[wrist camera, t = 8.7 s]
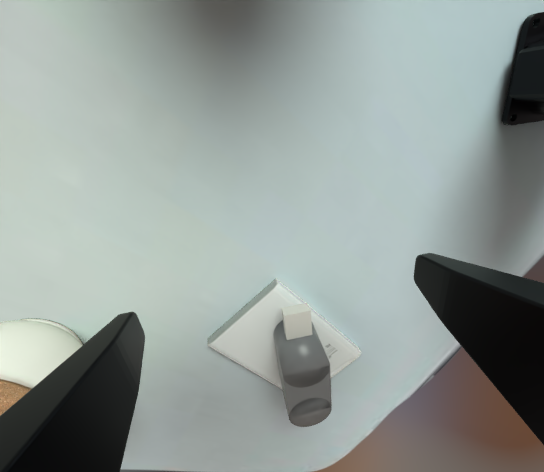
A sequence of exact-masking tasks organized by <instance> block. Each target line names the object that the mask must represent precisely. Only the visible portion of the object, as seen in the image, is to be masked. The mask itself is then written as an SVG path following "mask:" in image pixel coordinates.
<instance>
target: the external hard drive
mask: <svg viewBox="0 0 544 472" xmlns="http://www.w3.org/2000/svg"><path fill="white" fill-rule="evenodd" d="M303 303H305V302H304V301H303V300H302V299H301V298H299V297H298V296H297V295H296V294H295V293H293V292H292V291H291V290H290V289H289V288H287V287H286V286H285V285H284V284H282V283H281V282H280V281H279V280H278V279H277V278H276V279H274V280H273V281H272V282H271V283H270V284H269V285H268V286H267V287H265V288H264V289H263V290H262V291H261V292H260V293H259V294H258V295H256V296H255V297H254V298H253V299H252V300H251V301H250V302H248V303H247V304H246V305H245V306H244V307H243V308H242V309H241V310H239V311H238V312H237V313H236V314H235V315H234V316H233V317H232V318H230V319H229V320H228V321H227V322H226V323H225V324H224V325H222V326H221V327H220V328H219V329H218V330H217V331H216V332H214V333H213V334H212V335H211V336H210V337H209V338H208V346H209V347H211V348H213V349H214V350H216V351H218V352H219V353H221V354H223V355H225V356H226V357H228V358H230V359H231V360H233V361H235V362H236V363H238V364H240V365H242V366H243V367H245V368H247V369H248V370H250V371H252V372H253V373H255V374H257V375H259V376H260V377H262V378H264V379H265V380H267V381H269V382H270V383H272V384H274V385H275V386H277V387H279V388H281V389H282V385H281V380H280V376H279V369H278V362H277V356H276V349H275V342H274V335H273V334H274V330H275V327H276V326H277V325H278V323H279V322H281V321H282V320H283V316H282V308H284V307H289V306H293V305H298V304H303ZM309 308H310V310H311V321H312V323H313V325H314V327H315V330H316V332H317V334H318V337H319V339H320V341H321V343H322V346H323V348H324V350H325V353H326V355H327V357H328V360H329V362H330V378H332V377H333V376H335V375H336V374H337V373H339V372H340V371H341V370H343V369H344V368H345V367H346V366H348V365H349V364H350V363H352V362H353V361H354V360H356V359H357V358H358V357H359V356H360V355H361V351H360V349H359V347H358V346H356V345H355V344H354V343H353V342H352V341H351V340H349V339H348V338H347V337H346V336H345V335H343V334H342V333H341V332H340V331H339V330H338V329H336V328H335V327H334V326H333V325H332V324H330V323H329V322H328V321H327V320H326V319H325V318H323V317H322V316H321V315H320V314H318V313H317V312H316V311H315V310H314V309H312V308H311V307H310V306H309ZM282 390H283V389H282Z"/></svg>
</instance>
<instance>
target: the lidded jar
mask: <svg viewBox="0 0 544 472" xmlns="http://www.w3.org/2000/svg"><path fill="white" fill-rule="evenodd" d="M82 346H83V344H82V342H81V340H80V339H79V337H78V336H77V335H76V334H75V333H74V332H73V331H71V330H70V329H68V328H67V327H65V326H63V325H61V324H59V323H56V322H53V321H49V320H45V319H21V320H13V321H2V322H0V416H1V415H2V414H3V413H4V412H5V411H6V410H8V409H9V408H10V407H11V406H12V405H13V404H15V403H16V402H17V401H18V400H19V399H20V398H22V397H23V396H24V395H25V394H26V393H28V392H29V391H30V390H31V389H32V388H33V387H35V386H36V385H37V384H38V383H39V382H40V381H42V380H43V379H44V378H45V377H46V376H47V375H49V374H50V373H51V372H52V371H53V370H55V369H56V368H57V367H58V366H59V365H60V364H62V363H63V362H64V361H65V360H66V359H67V358H69V357H70V356H71V355H72V354H73V353H74V352H76V351H77V350H78V349H79V348H80V347H82Z"/></svg>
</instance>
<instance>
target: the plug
mask: <svg viewBox="0 0 544 472" xmlns="http://www.w3.org/2000/svg"><path fill="white" fill-rule="evenodd" d="M282 316H283V320H282V321H281V322H279V323H278V325H277V326H276V327H275V330H274V334H273V335H274V342H275V349H276V356H277V362H278V369H279V376H280V380H281V385H282V389H283V393H284V398H285V402H286V407H287V411H288V416H289V420H290V421H291V423H292V424H294V425H296V426H300V427H307V426H312V425H315V424H318V423H320V422H322V421H323V420H324V419H326V418H327V417H328V415H329V414H330V412H331V378H330V362H329V360H328V357H327V355H326V353H325V350H324V348H323V346H322V343H321V341H320V339H319V337H318V334H317V332H316V330H315V327H314V325H313V323H312V321H311V310H310V308H309V305H308V303H303V304H298V305H293V306H289V307H284V308H282Z"/></svg>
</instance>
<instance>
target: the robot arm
mask: <svg viewBox="0 0 544 472" xmlns="http://www.w3.org/2000/svg"><path fill="white" fill-rule="evenodd" d="M533 21H534V24H533ZM532 25H533V26H532ZM511 116H512V117H511ZM510 118H511V119H510ZM542 120H544V12H542V13H536V14H533V15H530V16H528V17H527V18H526V20H525V21H524V24H523V27H522V32H521V36H520V41H519V45H518V50H517V54H516V59H515V63H514V68H513V72H512V77H511V81H510V86H509V90H508V95H507V99H506V103H505V108H504V112H503V117H502V122H503V124H504V125H516V124H523V123H529V122H536V121H542ZM414 281H415V283H416V285H417V286H418V288H419V289H420V291H421V292H422V294H423V295H424V297H425V298H426V300H427V301H428V303H429V304H430V306H431V307H432V309H433V310H434V311H435V313H436V314H437V316H438V317H439V319H440V320H441V321H442V323H443V324H444V325H445V326H446V328H447V329H448V330H449V331H450V333H451V334H452V335H453V336H454V337H455V339H456V340H457V341H458V342H459V343H460V345H461V346H462V347H463V348H464V349H465V351H466V352H467V353H468V354H469V355H470V357H471V358H472V359H473V360H474V362H475V363H476V364H477V365H478V366H479V367H480V369H481V370H482V371H483V372H484V373H485V375H486V376H487V377H488V378H489V380H490V381H491V382H492V383H493V384H494V386H495V387H496V388H497V389H498V390H499V392H500V393H501V394H502V395H503V396H504V398H505V399H506V400H507V401H508V403H509V404H510V405H511V406H512V407H513V409H515V411H516V412H517V413H518V415H519V416H520V417H521V418H522V419H523V421H524V422H525V423H526V424H527V425H528V427H529V428H530V429H531V430H532V432H533V433H534V434H535V435H536V436H537V438H538V439H539V440H540V441H541V442H542V443H543V445H544V283H542V282H538V281H534V280H530V279H527V278H523V277H519V276H515V275H511V274H508V273H504V272H500V271H496V270H493V269H489V268H485V267H481V266H478V265H474V264H470V263H466V262H462V261H459V260H455V259H451V258H447V257H444V256H440V255H436V254H432V253H427V254H422V255H419V256H417V258H416V262H415V270H414ZM144 342H145V335H144V331H143V329H142V326H141V324H140V322H139V319H138V317H137V315H136V313H134V312H128V313H123V314H120V315H118V316H117V317H116V318H114V319H113V320H112V321H111V322H110V323H109V324H107V325H106V326H105V327H104V328H103V329H102V330H100V331H99V332H98V333H97V334H96V335H94V336H93V337H92V338H91V339H90V340H89V341H87V342H86V343H85V344H84V345H83V346H82V347H80V348H79V349H78V350H77V351H76V352H74V353H73V354H72V355H71V356H70V357H69V358H67V359H66V360H65V361H64V362H63V363H62V364H60V365H59V366H58V367H57V368H56V369H55V370H53V371H52V372H51V373H50V374H49V375H47V376H46V377H45V378H44V379H43V380H42V381H40V382H39V383H38V384H37V385H36V386H35V387H33V388H32V389H31V390H30V391H29V392H28V393H26V394H25V395H24V396H23V397H22V398H20V399H19V400H18V401H17V402H16V403H15V404H13V405H12V406H11V407H10V408H9V409H8V410H6V411H5V412H4V413H3V414H2V415H1V416H0V472H120V468H121V464H122V460H123V455H124V451H125V447H126V443H127V438H128V434H129V430H130V426H131V421H132V417H133V413H134V408H135V404H136V400H137V395H138V390H139V384H140V376H141V368H142V359H143V351H144Z"/></svg>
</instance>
